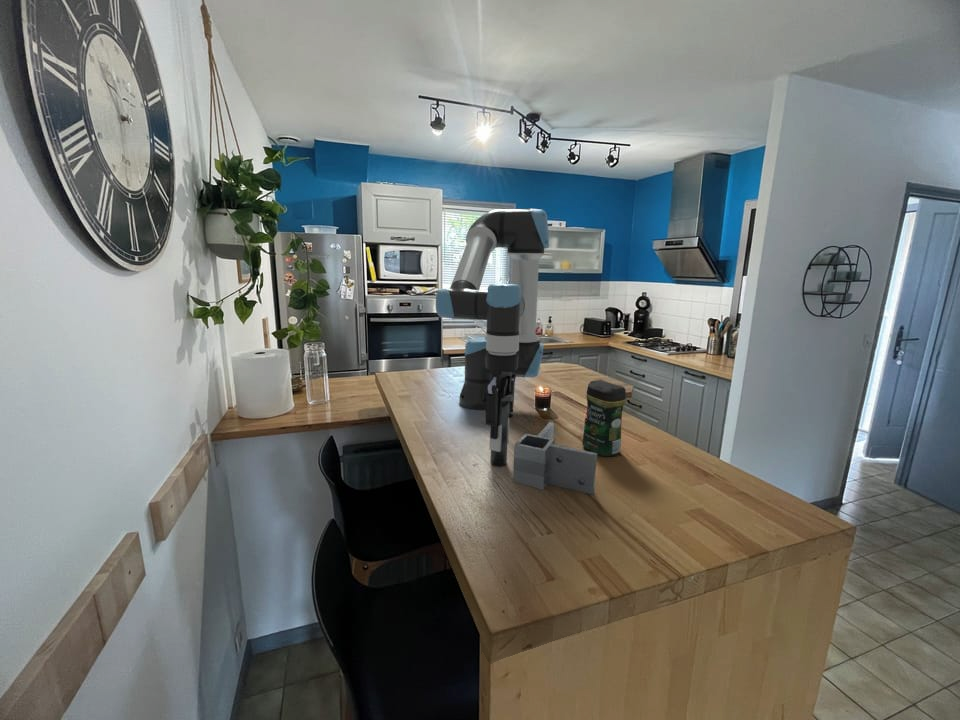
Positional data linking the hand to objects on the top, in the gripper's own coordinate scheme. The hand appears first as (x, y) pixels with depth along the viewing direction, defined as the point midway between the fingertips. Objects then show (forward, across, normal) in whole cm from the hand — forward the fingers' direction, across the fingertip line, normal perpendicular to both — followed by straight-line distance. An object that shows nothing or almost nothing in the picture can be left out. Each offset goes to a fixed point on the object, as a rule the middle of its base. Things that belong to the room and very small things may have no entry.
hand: (499, 446), depth 100 cm
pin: (+4, 0, 0) cm, 4 cm away
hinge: (+4, -1, +15) cm, 16 cm away
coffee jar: (+5, -20, +21) cm, 29 cm away
